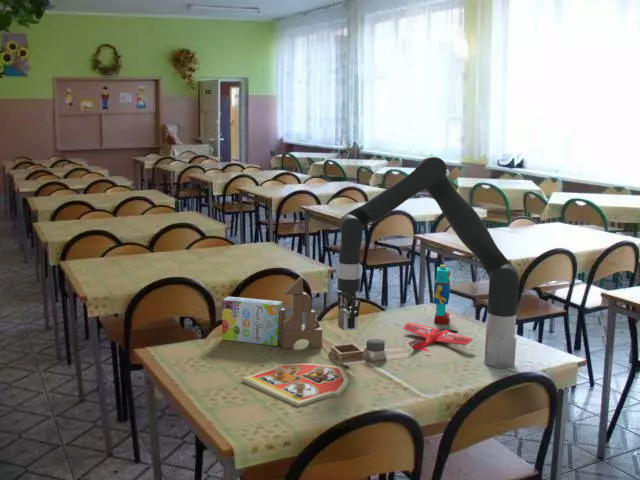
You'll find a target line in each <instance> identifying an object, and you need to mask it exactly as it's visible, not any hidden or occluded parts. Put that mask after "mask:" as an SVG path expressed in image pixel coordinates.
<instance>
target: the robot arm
mask: <svg viewBox="0 0 640 480" xmlns="http://www.w3.org/2000/svg"><path fill="white" fill-rule="evenodd" d="M447 171H448V167H447V163H446V162H445V161H444V160H443V159H441V158H440V157H438V156H428V157H425V158H424V159H421V160H420V161H419V162H418V163H417V165H416V167H415V168H414V170H412V171H411V172H410V173H409V174H408V175H406V176H405V177H404V178H403V179H401V180H400V181H398V182H397V183H394V184H393V185H391V186H390V187H388V188H386V189H385V190H382V191H381V192H380V193H378V194H377V195H375V196H373V197H372V198H371V199H369V200H368V201H366V202H365V203H364V204H362V205H361V206H358V207H356V208H354V209H353V210H352V209H351V211H349V212H347V213H345V214H344V215H343V216H341V218H339V221H338V230H339V231H340V235H341V236H340V237H341V239H340V242H341V243H340V246H339V249H338V265H337V284H336V285H337V290H338V291H337V292H336V293H337V307H338V308H337V309H344V308H346V311H347V312H348V328H349V329H353V328H355V317H358V318H359V316H360V307H361V301H360V299H359V300H357V294H356V293H357V292H360V290H361V279H362V278H361V277H362V275H361V274H362V273H361V272H362V266H361V247H362V240H363V232H364V229H363V228H364V227H366V226H368V225H369V224H372V223H373V224H374V223H376V222H378V221H379V220H381V219H383V218H384V217H385V216H387V215H389V214H390V213H391V212H393V211H394V210H395V209H397V208H398V207H399V206H400V205H402V204H403V203H405V202H406V201H407V200H409V199H410V198H412V197H413V196H415V195H416V194H418V193H419V192H422V191H424V190H425V189H426V191H427V193H428V194H429V195H431V197H432V198H433V199H434V201H435V202H436V204H437V205H438V207H439V208H440V210H441V212H442V214H443V216H444V218H445V219H446V221H447V222H448V224H449V225H450V227H451V229H452V230H453V232H454V233H455V234H456V236H457V237H458V239H459V240H460V242H461V243H463V245H464V246H465V247H466V248H467V249H468V250H469V252H471V253H472V254H474V256H475V257H476V258H477V259H478V260H479V262H480V264H481V265H482V266H483V269H484V271H485V273H486V274H487V276H488V278H489V284H488V299H487V300H488V301H487V313H486V324H485V325H486V328H485V343H484V363H485V364H486V365H488V366H491V367H494V368H497V369H504V368H511V367H515V363H516V362H515V361H516V360H515V359H516V348H517V338H516V323H517V310H518V303H519V302H518V301H519V290H520V279H519V278H520V277H519V273H518V271H517V268H516V267H515V266H514V265H513V264H512V263H511V262H510V261H509V260H508V258H507V257H506V256H505V255H504V254H503V252H502V251H501V250H500V248H499V247H498V246H497V244H496V242H495V241H494V239H493V237H492V235H491V233H490V231H489V229H488V228H487V226H486V225H485V223H484V222H483V220H482V219H481V217H480V216H479V214H478V213H477V211H476V210H475V209H474V208H473V207H472V205H471V204H470V203H469V202H468V201H467V200H466V198H464V197H463V196H462V195H461V194H460V193H459V192H458V191H457V190H456V188H454V186H453V184H452V183H451V181H450V179H449V177H448V176H447V174H448V172H447ZM350 310H351V313H350Z"/></svg>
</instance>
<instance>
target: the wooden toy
mask: <svg viewBox="0 0 640 480" xmlns="http://www.w3.org/2000/svg"><path fill="white" fill-rule="evenodd" d="M303 287H304V277H303V276H302V275H300V276H299V277H298V278H297V279H296V280H295V281H294V282H293V283H292V284H290V286H289V287H288V288H287V289H286V290H285V291H283V292H284V293H283V294H284V295H290V296H291V313H290V315H289V317H288V318H286V316H287V315H286V308H284V307H283V308H281V309H279V344H278V346H281V347H282V349H283V350H284V349H287V350H288V349H294V346H295V344H296V343H297V342H298V341H299V340H306V341H308V342H309V345H310V346H311V348H322V347H323V328H322V327H321V325H320V322H319V321H318V319H317V318H316V315H317V314H316V311H315V309H312V298H311V296H310V295H309V294H308V293H307V292H306V291H303V290H304V288H303ZM303 313H304V327H303Z"/></svg>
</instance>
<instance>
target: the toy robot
mask: <svg viewBox="0 0 640 480" xmlns="http://www.w3.org/2000/svg"><path fill="white" fill-rule="evenodd" d="M442 262H444V258H443V259H442ZM450 276H451V271H450V267H447V265H446V264H440V266H437V268H436V276H435V277H436V278H435V281H434V285H433V287H434V289H433V304H436V309H435V314H434V321H433V323H434V324H440V325H449V321H450V313H448V312H446V305H449V300H450V293H451V283H450Z"/></svg>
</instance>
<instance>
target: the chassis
mask: <svg viewBox="0 0 640 480" xmlns="http://www.w3.org/2000/svg"><path fill="white" fill-rule="evenodd" d="M328 356H329V357H331V358H332V359H333V360H334V361H335V362H336V363H338V364H339V365H340V367H342V369H343V370H344V369H345V370H347V369H349V370H350V367H349V366H352V365H360V364H368V363H369V364H370V363H376V362H377V363H378V362H387V361H395V360H402V359H410V358H413V356H412V355H411V354H409V353H407V352H406V351H404V350H403V349H402V348H400V347H399V346H397V345H396V344H394V343H391V344H385V348H384V349H383V350H380V351H372V350H369V349H367V348H366V346H363V347H359V346H358V345H357V344H356V343H354V342H353V343H345V344H337V345H331V346H330V351H328Z"/></svg>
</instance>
